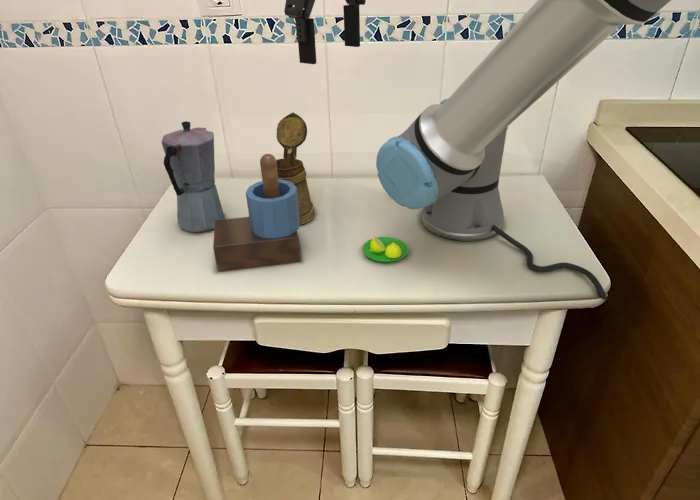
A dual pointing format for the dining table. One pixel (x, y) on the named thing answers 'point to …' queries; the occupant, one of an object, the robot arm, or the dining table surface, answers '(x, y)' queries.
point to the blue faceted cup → (273, 211)
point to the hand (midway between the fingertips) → (331, 54)
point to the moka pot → (193, 177)
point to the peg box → (243, 245)
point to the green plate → (385, 249)
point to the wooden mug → (294, 162)
